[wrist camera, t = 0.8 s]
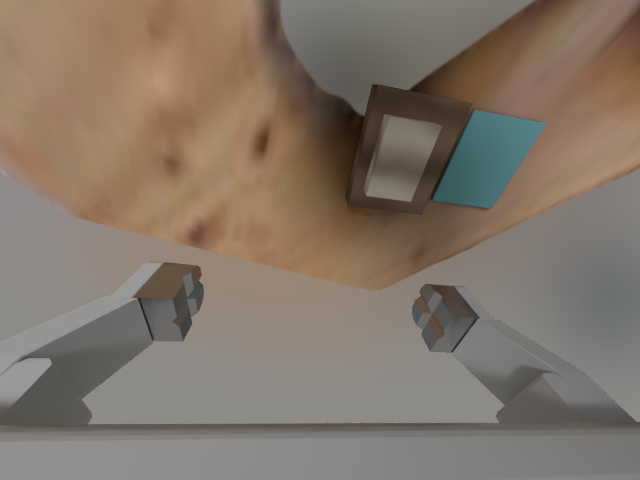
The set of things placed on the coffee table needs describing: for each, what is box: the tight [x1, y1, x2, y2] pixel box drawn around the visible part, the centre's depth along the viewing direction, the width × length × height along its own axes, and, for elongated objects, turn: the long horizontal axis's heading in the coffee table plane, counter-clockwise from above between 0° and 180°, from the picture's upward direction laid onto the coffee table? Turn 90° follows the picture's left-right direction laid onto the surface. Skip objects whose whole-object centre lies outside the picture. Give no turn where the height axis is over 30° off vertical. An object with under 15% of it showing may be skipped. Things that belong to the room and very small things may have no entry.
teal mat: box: [431, 109, 546, 208], centre depth 31 cm, size 12×10×1 cm
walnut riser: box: [346, 84, 473, 214], centre depth 29 cm, size 14×11×2 cm
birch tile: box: [363, 114, 442, 202], centre depth 27 cm, size 9×6×2 cm, turn 171°
